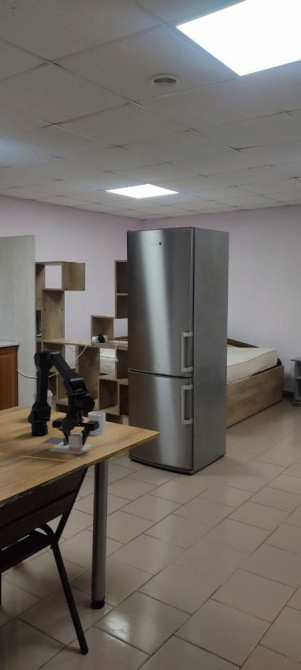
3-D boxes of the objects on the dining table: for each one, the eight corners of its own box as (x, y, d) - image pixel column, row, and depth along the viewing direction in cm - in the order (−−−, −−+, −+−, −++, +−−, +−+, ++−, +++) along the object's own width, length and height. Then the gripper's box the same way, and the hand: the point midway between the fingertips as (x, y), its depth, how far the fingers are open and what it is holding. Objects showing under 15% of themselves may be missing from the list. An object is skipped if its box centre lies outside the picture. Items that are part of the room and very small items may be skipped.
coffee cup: (30, 420, 254) (29, 391, 252) (47, 417, 260) (46, 388, 259) (40, 424, 247) (39, 394, 245) (57, 420, 253) (56, 391, 252)
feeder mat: (42, 443, 216) (42, 442, 216) (51, 438, 224) (51, 437, 224) (58, 445, 214) (58, 444, 214) (67, 439, 221) (67, 438, 221)
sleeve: (68, 450, 203) (68, 436, 203) (73, 447, 208) (73, 433, 207) (78, 451, 202) (78, 437, 202) (83, 448, 206) (83, 433, 206)
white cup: (103, 437, 223) (102, 415, 222) (86, 437, 225) (85, 415, 224) (108, 432, 231) (107, 411, 230) (91, 432, 233) (91, 410, 232)
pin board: (49, 452, 205) (48, 442, 205) (62, 444, 215) (61, 435, 215) (80, 455, 201) (80, 445, 200) (92, 446, 211) (91, 437, 211)
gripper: (44, 410, 198) (45, 449, 200) (87, 413, 193) (88, 453, 194) (58, 404, 209) (59, 440, 211) (99, 407, 203) (100, 444, 205)
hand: (76, 445), depth 205 cm, fingers open, 6 cm apart
